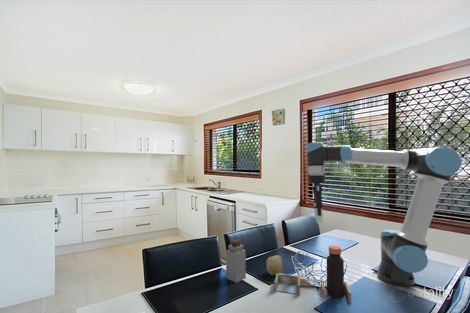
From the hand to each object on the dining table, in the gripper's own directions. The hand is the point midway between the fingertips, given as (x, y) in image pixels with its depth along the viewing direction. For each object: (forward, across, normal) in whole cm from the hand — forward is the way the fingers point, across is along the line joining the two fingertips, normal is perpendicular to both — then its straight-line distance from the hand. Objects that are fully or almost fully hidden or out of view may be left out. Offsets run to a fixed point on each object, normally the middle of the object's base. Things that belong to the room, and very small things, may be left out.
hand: (318, 219), depth 117 cm
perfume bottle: (+28, +6, -40) cm, 49 cm away
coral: (+29, -3, -22) cm, 36 cm away
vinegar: (+30, +10, +5) cm, 32 cm away
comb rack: (+29, +9, -5) cm, 31 cm away
